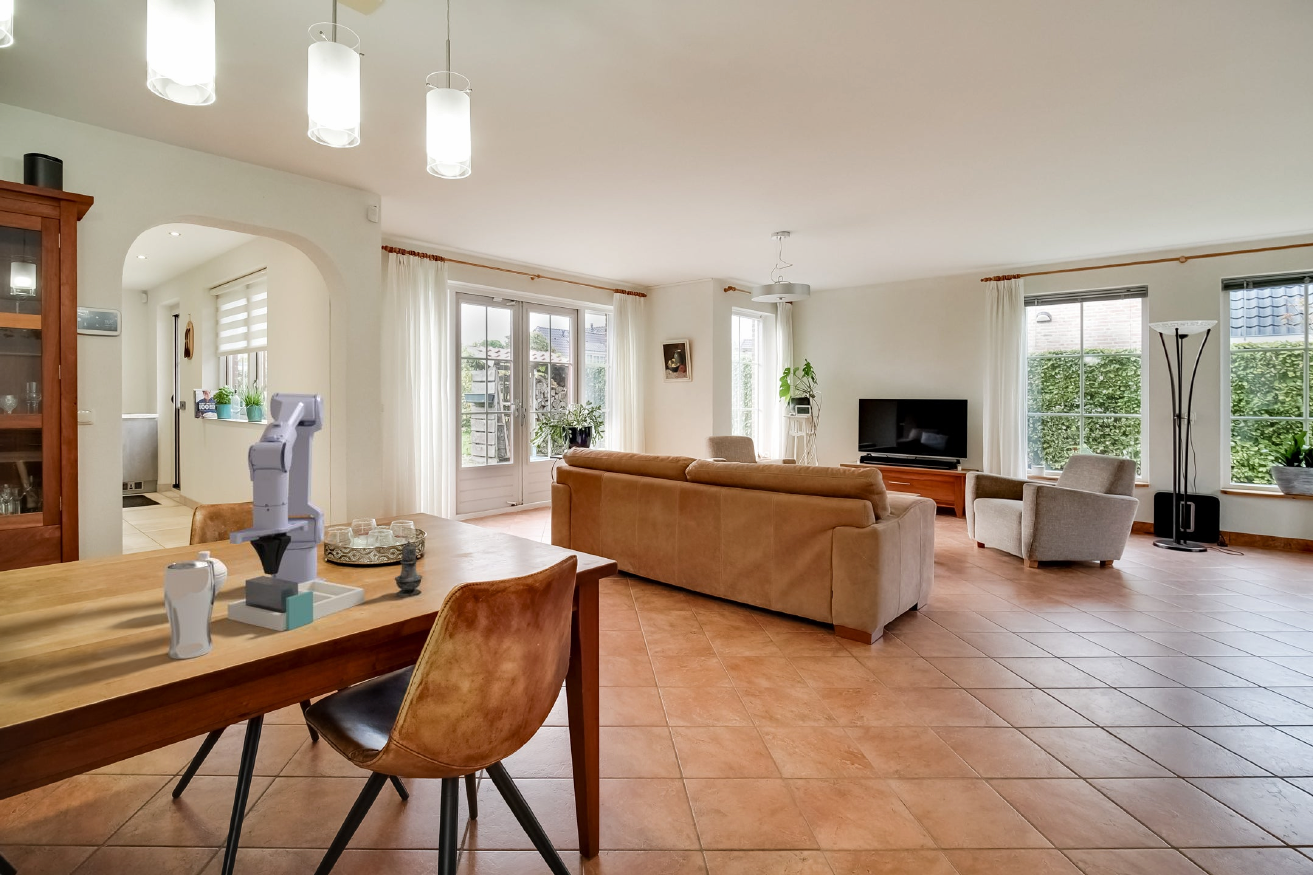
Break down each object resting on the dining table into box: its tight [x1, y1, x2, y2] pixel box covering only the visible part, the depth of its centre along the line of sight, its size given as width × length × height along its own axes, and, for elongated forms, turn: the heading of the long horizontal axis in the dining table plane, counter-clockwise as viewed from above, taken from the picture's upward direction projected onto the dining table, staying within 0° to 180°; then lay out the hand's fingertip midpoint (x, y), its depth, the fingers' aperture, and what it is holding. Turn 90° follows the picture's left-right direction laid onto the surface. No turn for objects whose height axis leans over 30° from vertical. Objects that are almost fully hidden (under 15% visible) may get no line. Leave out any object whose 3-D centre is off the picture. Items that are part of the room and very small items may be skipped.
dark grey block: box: [245, 575, 298, 614], centre depth 122 cm, size 10×4×7 cm, turn 68°
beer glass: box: [163, 559, 216, 660], centre depth 106 cm, size 7×7×15 cm
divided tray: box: [227, 580, 366, 632], centre depth 128 cm, size 16×19×6 cm
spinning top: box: [195, 550, 228, 597], centre depth 126 cm, size 8×8×12 cm
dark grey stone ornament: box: [394, 540, 424, 598], centre depth 141 cm, size 6×6×12 cm
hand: (271, 573), depth 122 cm, fingers closed
